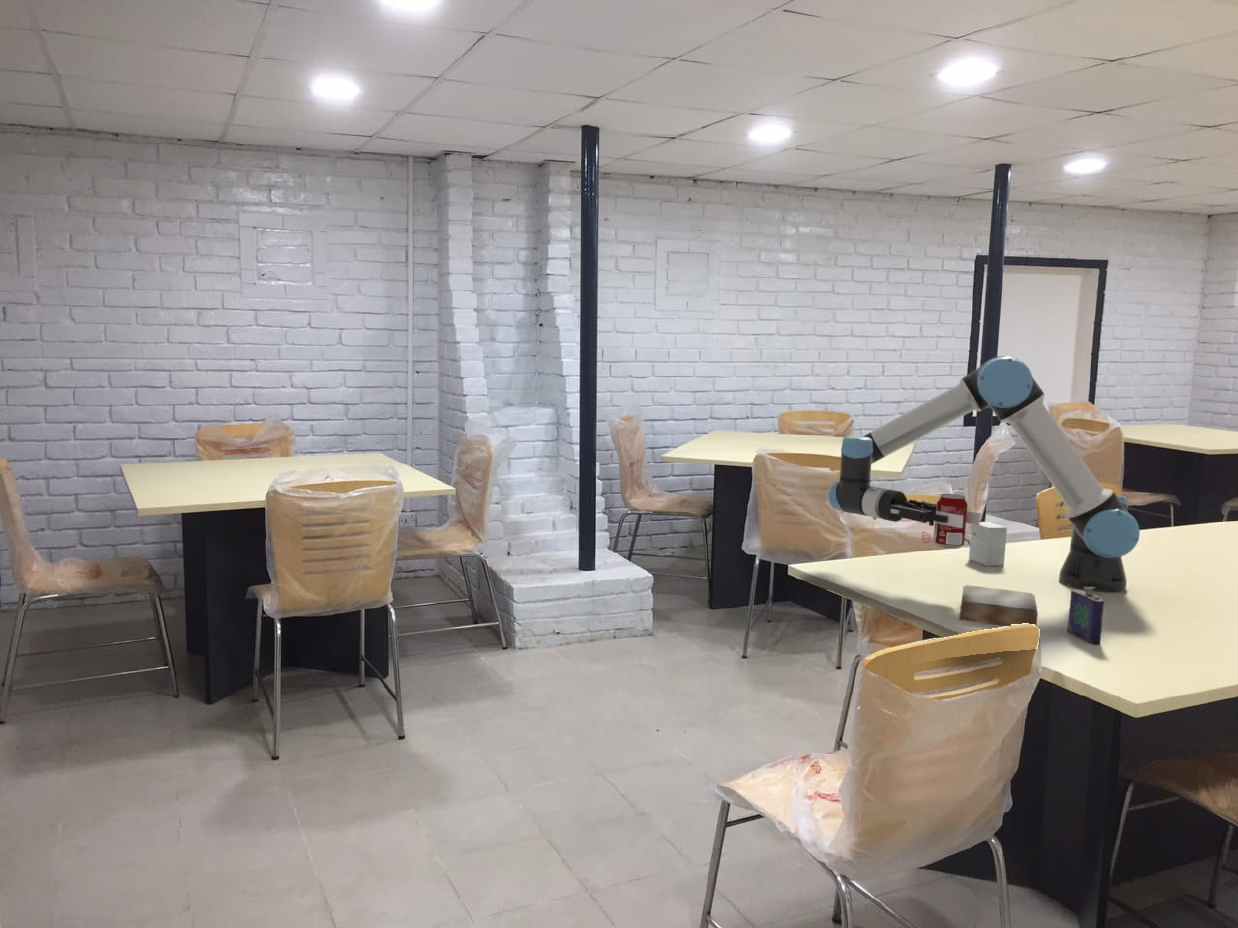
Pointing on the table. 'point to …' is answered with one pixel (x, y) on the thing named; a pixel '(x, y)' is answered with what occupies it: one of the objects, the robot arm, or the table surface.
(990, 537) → the small box
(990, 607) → the riser
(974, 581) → the table surface
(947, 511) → the soda can
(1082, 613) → the flask
